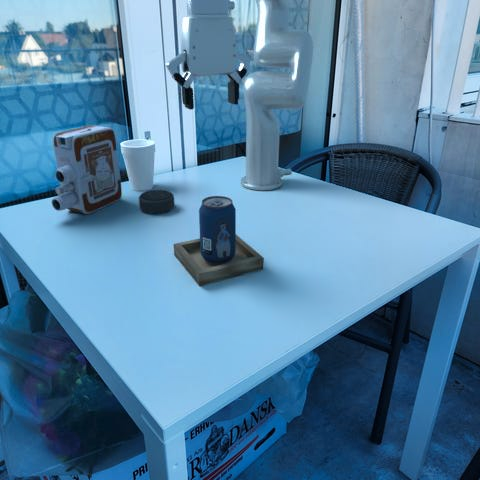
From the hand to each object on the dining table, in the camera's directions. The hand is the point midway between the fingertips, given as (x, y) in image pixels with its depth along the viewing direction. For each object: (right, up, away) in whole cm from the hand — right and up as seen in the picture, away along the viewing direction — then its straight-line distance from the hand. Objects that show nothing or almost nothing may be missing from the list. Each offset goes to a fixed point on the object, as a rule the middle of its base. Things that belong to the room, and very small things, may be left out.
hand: (211, 105), depth 85 cm
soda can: (+1, -31, 0) cm, 31 cm away
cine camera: (-34, -19, +25) cm, 46 cm away
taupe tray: (+1, -31, 0) cm, 31 cm away
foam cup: (-23, -12, +40) cm, 48 cm away
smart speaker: (-16, -19, +25) cm, 35 cm away
